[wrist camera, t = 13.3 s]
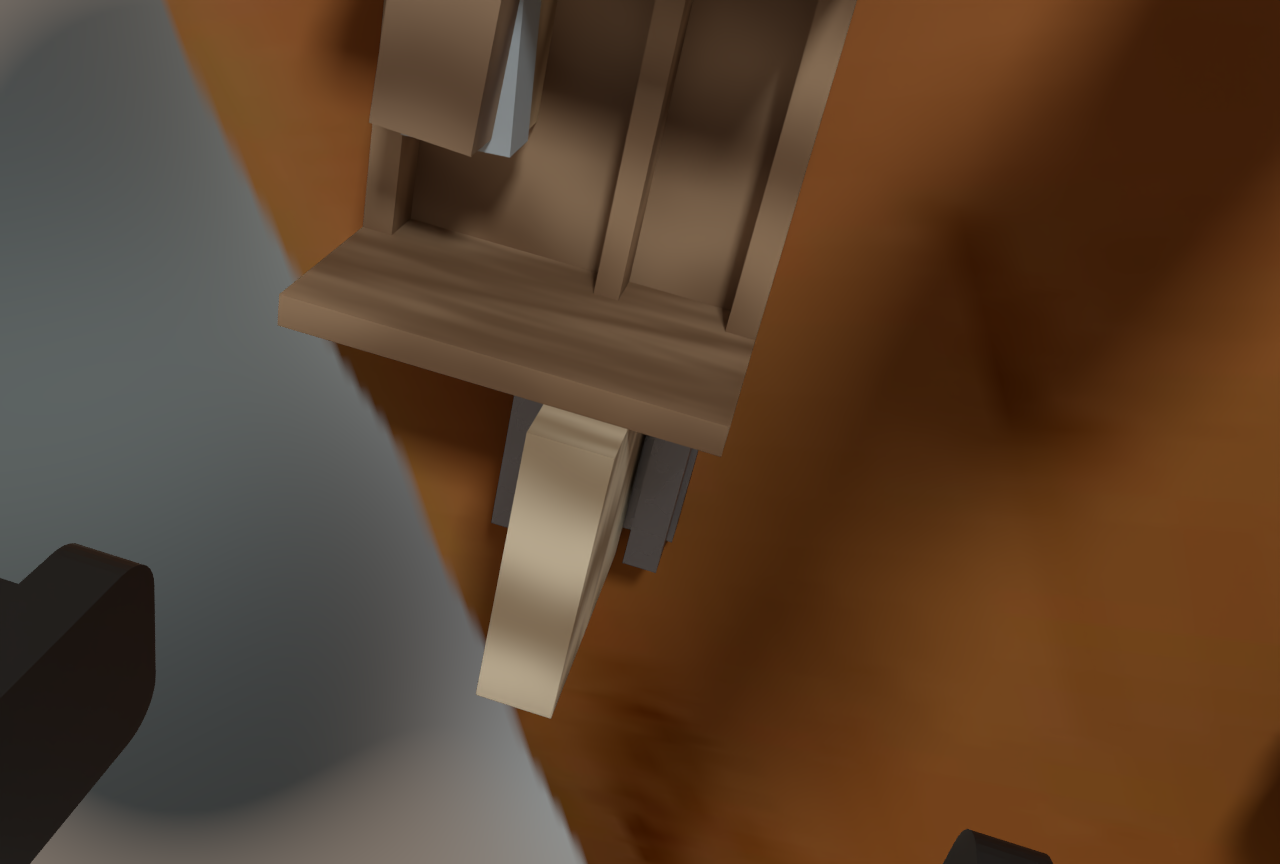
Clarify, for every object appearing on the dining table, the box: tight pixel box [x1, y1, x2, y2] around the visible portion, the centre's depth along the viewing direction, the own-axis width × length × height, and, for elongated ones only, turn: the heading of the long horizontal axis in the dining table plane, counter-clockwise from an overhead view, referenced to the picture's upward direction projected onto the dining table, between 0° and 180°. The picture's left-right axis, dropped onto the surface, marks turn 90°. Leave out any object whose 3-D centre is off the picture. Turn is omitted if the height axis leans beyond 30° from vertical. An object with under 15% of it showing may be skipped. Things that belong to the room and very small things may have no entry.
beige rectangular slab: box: [476, 404, 646, 719], centre depth 46 cm, size 12×3×11 cm, turn 167°
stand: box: [491, 396, 698, 573], centre depth 50 cm, size 9×8×4 cm
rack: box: [278, 0, 857, 457], centre depth 40 cm, size 17×16×10 cm
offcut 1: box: [369, 0, 520, 157], centre depth 38 cm, size 5×4×2 cm
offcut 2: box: [401, 0, 541, 158], centre depth 40 cm, size 6×4×2 cm, turn 172°
